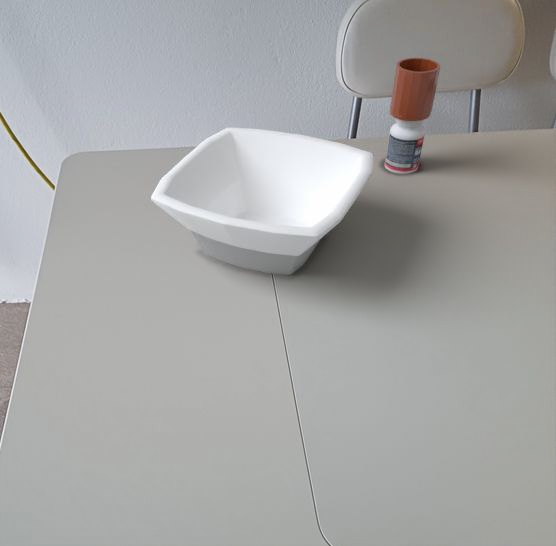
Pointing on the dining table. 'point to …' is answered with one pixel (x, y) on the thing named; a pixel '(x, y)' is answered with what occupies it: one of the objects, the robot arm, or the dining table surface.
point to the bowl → (263, 195)
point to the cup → (414, 89)
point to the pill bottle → (404, 146)
